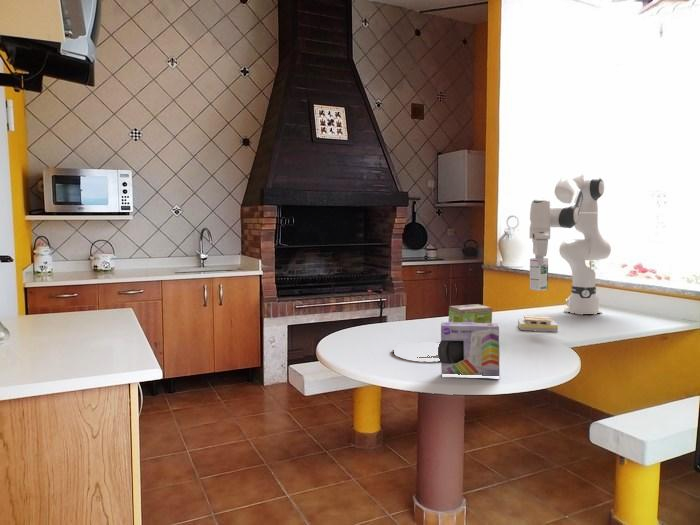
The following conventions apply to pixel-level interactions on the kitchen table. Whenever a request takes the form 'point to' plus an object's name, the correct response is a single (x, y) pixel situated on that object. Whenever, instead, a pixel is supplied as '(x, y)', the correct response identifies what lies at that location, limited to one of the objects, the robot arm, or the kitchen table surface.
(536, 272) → the syrup box
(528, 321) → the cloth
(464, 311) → the tea box
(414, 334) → the kitchen table surface
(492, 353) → the cake pan box
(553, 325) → the dock
